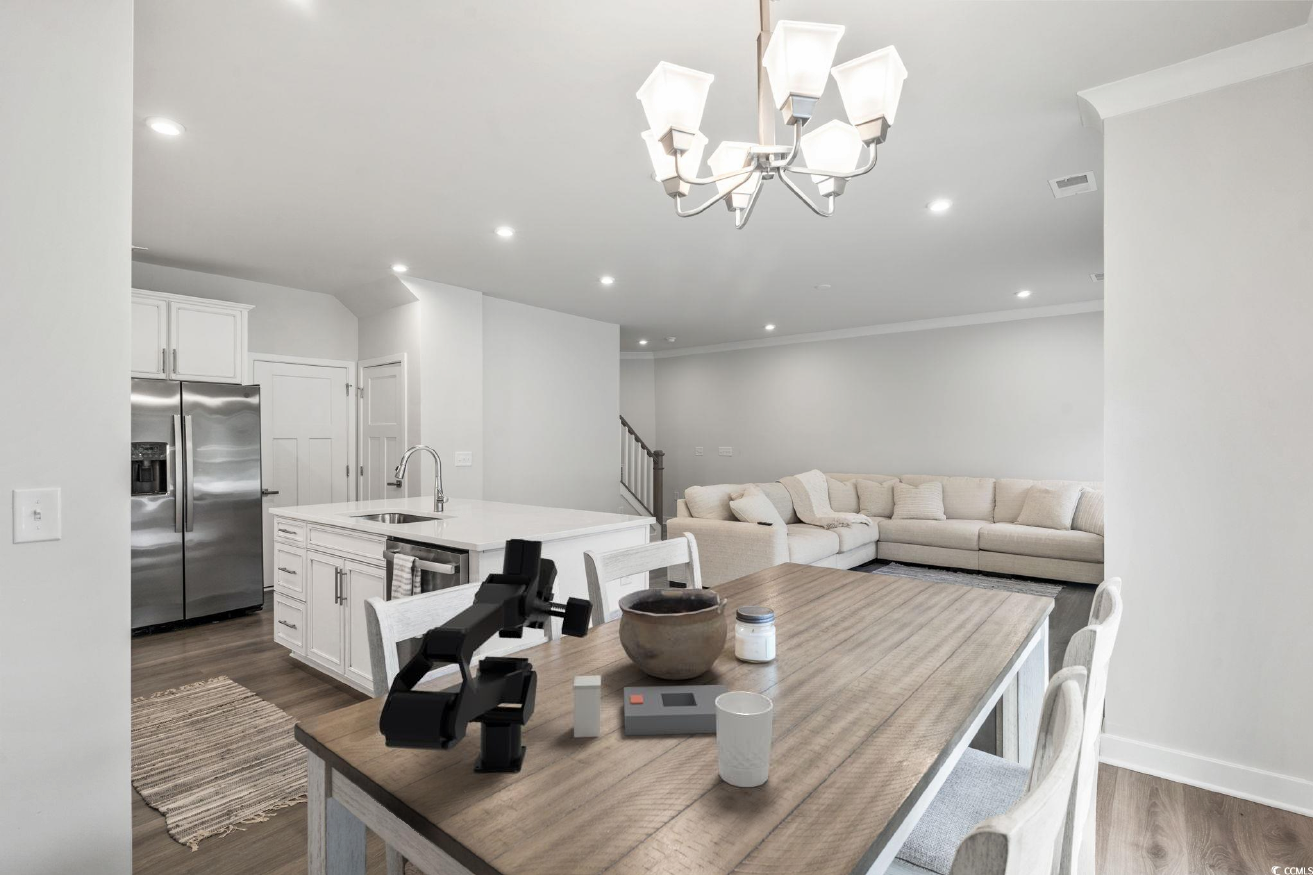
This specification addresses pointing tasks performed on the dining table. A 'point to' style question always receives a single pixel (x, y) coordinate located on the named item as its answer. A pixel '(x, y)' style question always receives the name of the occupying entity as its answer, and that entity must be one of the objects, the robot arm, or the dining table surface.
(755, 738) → the white cup
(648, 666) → the ceramic bowl
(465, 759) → the dining table surface
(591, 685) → the plug
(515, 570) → the robot arm
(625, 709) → the socket
